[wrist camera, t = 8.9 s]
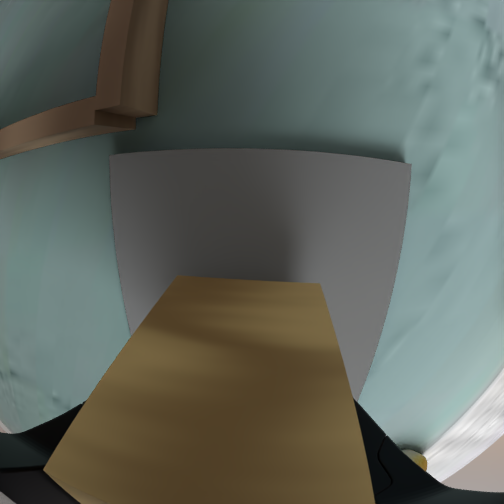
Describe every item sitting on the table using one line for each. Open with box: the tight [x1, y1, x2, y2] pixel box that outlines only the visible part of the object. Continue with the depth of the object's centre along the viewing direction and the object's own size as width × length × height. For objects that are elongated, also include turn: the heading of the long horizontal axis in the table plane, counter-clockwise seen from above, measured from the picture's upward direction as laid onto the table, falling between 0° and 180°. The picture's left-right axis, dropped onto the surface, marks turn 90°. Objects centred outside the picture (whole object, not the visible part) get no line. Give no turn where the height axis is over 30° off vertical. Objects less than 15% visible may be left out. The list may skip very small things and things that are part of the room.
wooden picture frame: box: [0, 0, 168, 159], centre depth 6 cm, size 18×18×3 cm
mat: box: [109, 148, 412, 401], centre depth 12 cm, size 12×14×1 cm
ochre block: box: [43, 275, 375, 504], centre depth 7 cm, size 5×5×8 cm
